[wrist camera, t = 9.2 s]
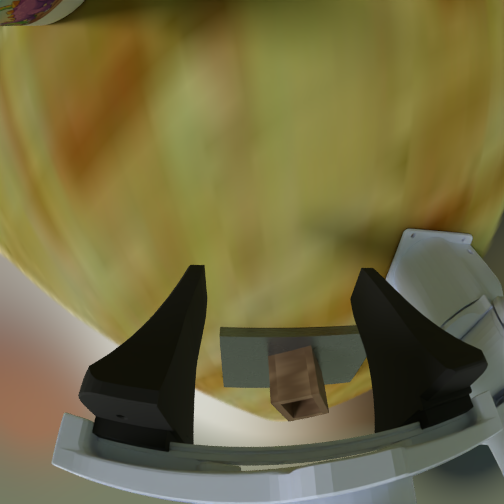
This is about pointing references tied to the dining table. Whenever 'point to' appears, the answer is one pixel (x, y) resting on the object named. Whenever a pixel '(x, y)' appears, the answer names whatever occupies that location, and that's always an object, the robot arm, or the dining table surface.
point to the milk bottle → (35, 11)
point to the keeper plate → (283, 340)
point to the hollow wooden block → (297, 384)
